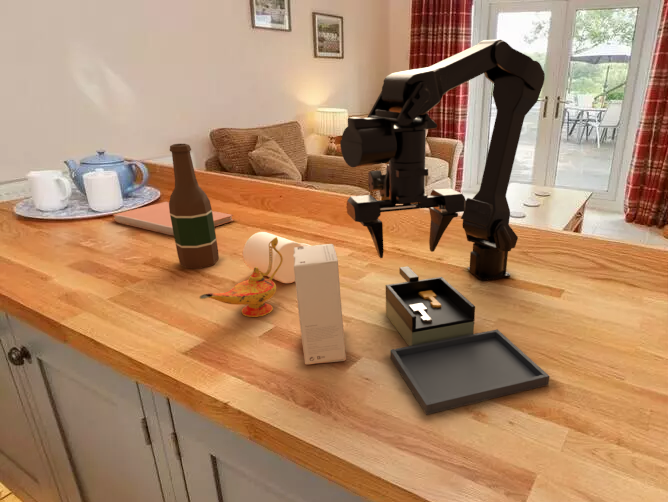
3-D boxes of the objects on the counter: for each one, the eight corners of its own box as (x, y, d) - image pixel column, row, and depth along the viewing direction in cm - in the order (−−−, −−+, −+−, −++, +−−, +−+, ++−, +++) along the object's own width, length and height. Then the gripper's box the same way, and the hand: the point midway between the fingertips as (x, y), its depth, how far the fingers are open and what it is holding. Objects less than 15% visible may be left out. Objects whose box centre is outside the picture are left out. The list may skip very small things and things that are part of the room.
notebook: (110, 222, 129) (108, 214, 128) (166, 207, 142) (165, 200, 141) (179, 238, 117) (177, 230, 116) (234, 221, 130) (232, 214, 129)
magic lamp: (191, 333, 75) (178, 266, 71) (271, 290, 90) (264, 232, 86) (224, 343, 72) (213, 275, 68) (301, 297, 87) (295, 238, 83)
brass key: (418, 294, 81) (418, 291, 81) (431, 292, 82) (431, 289, 81) (432, 308, 76) (432, 306, 76) (445, 306, 77) (445, 304, 77)
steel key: (408, 307, 76) (408, 304, 76) (421, 305, 77) (421, 302, 77) (422, 323, 71) (422, 321, 71) (436, 321, 72) (436, 318, 72)
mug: (275, 289, 90) (271, 248, 87) (244, 275, 96) (239, 236, 93) (325, 270, 99) (322, 232, 96) (294, 259, 105) (291, 223, 102)
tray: (496, 337, 75) (497, 329, 74) (548, 385, 64) (549, 376, 63) (390, 358, 69) (390, 349, 69) (426, 414, 58) (426, 405, 57)
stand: (385, 314, 81) (385, 298, 80) (440, 305, 85) (441, 290, 84) (411, 350, 71) (412, 332, 70) (473, 338, 74) (474, 321, 73)
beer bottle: (171, 265, 101) (147, 145, 91) (199, 253, 107) (179, 140, 98) (200, 271, 98) (179, 148, 88) (227, 258, 105) (210, 143, 95)
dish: (376, 287, 84) (376, 270, 83) (429, 279, 88) (430, 263, 87) (412, 332, 70) (412, 313, 69) (474, 321, 73) (475, 302, 72)
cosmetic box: (346, 361, 68) (341, 262, 62) (302, 366, 67) (293, 265, 61) (340, 332, 76) (335, 241, 70) (300, 336, 75) (292, 244, 69)
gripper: (440, 149, 86) (438, 234, 93) (336, 155, 80) (341, 245, 86) (469, 160, 77) (464, 253, 83) (353, 167, 71) (357, 267, 77)
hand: (406, 254), depth 83 cm, fingers open, 9 cm apart
